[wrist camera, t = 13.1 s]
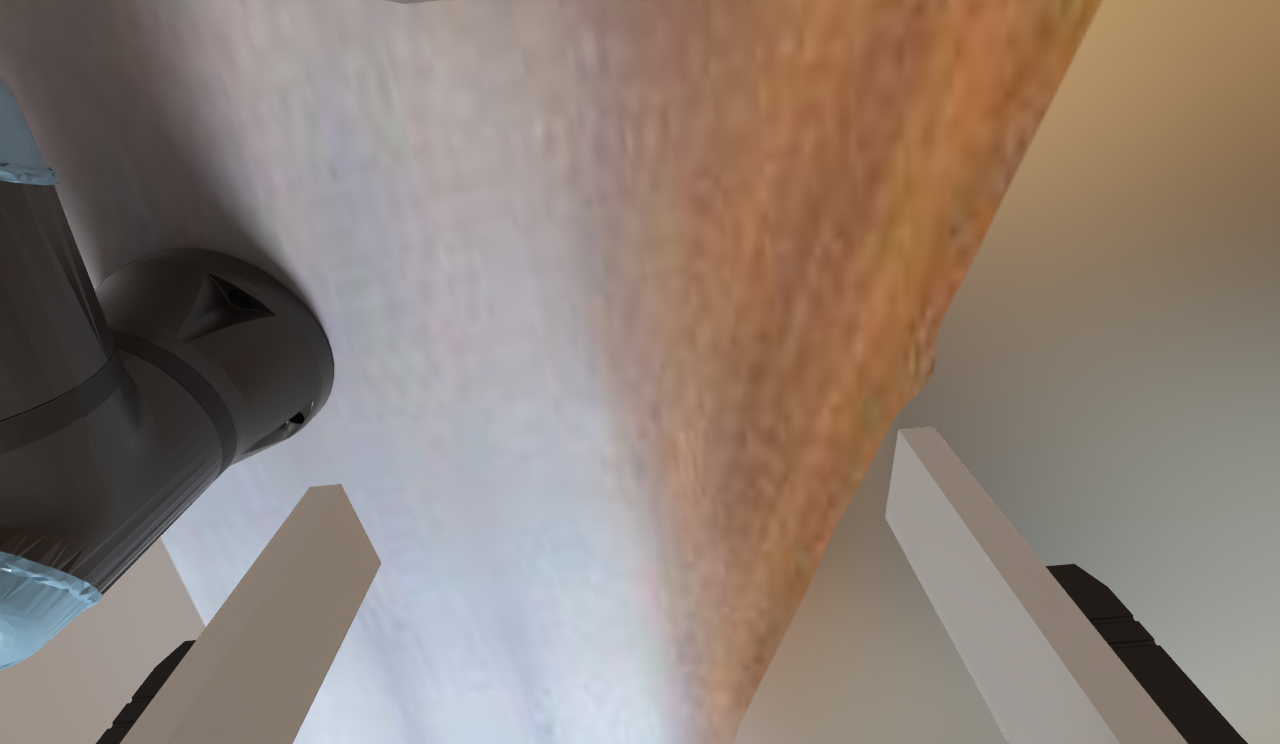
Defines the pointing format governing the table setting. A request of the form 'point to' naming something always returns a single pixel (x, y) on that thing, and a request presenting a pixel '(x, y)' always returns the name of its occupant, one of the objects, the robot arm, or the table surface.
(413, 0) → the bay
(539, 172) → the table surface
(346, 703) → the table surface
